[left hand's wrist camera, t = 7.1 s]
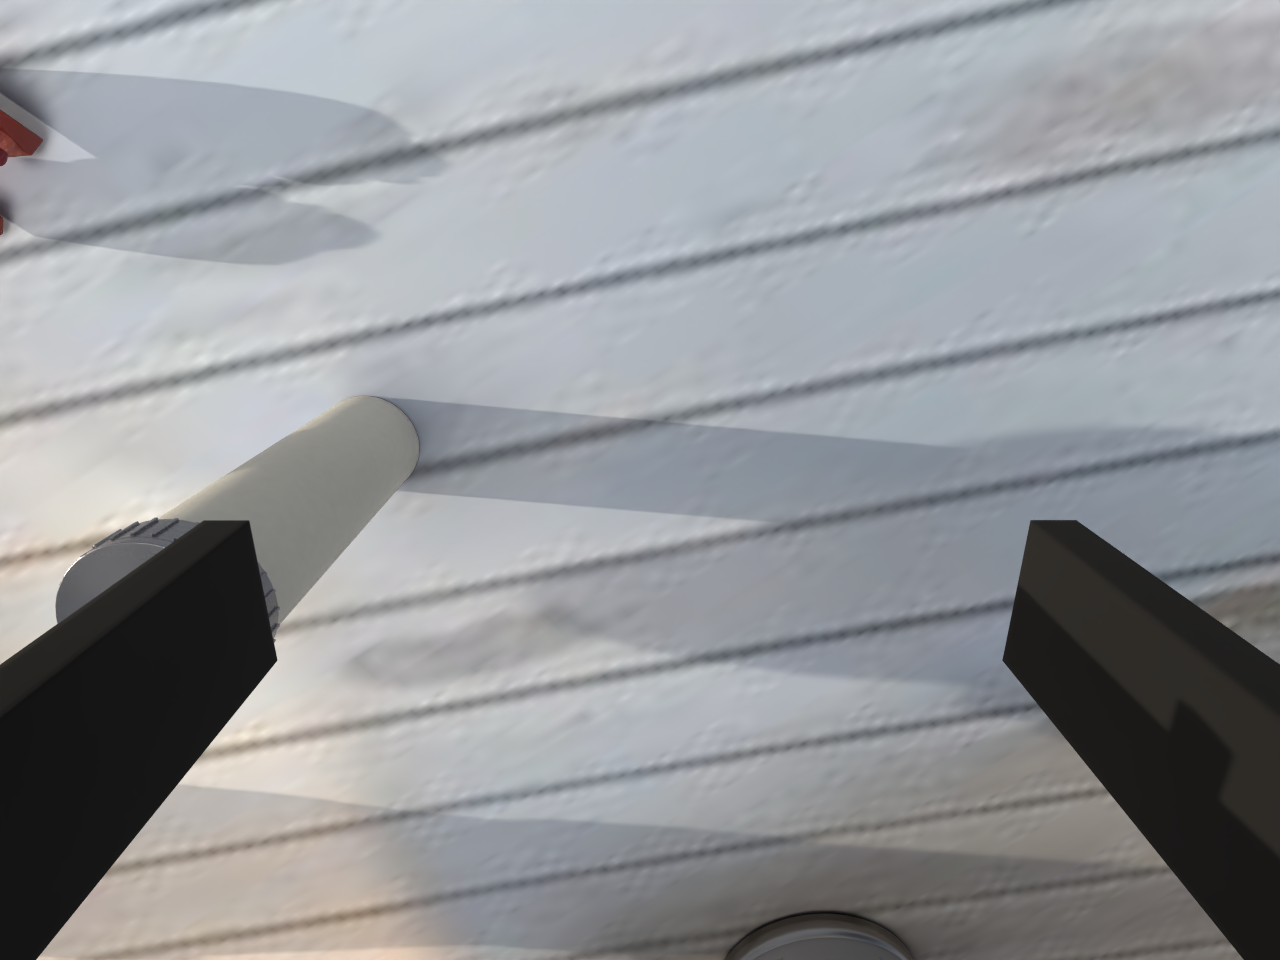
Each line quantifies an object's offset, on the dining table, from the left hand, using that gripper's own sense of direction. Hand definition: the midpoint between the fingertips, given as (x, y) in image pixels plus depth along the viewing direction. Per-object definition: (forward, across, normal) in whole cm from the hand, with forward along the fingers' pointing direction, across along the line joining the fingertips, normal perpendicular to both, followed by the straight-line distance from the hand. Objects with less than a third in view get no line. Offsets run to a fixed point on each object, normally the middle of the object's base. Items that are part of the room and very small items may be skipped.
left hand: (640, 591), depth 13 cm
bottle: (+28, +15, +6) cm, 32 cm away
